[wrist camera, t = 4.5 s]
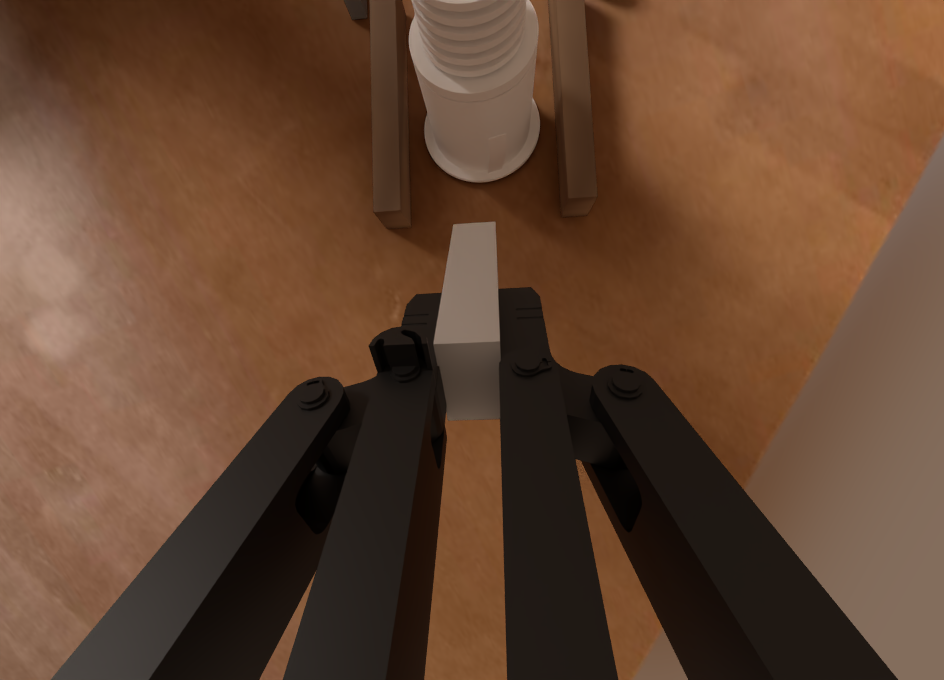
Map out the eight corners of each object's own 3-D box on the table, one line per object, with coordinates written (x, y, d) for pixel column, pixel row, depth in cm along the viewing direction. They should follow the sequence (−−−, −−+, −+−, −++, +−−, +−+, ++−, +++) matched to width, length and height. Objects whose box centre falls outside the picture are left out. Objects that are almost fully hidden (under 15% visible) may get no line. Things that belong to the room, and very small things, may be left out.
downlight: (556, 172, 23) (594, 9, 13) (443, 206, 23) (397, 72, 13) (519, 59, 24) (528, -172, 14) (412, 92, 24) (348, -109, 14)
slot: (387, 228, 23) (373, 212, 21) (382, 16, 24) (369, -24, 22) (586, 215, 22) (597, 196, 20) (572, -5, 24) (581, -49, 21)
